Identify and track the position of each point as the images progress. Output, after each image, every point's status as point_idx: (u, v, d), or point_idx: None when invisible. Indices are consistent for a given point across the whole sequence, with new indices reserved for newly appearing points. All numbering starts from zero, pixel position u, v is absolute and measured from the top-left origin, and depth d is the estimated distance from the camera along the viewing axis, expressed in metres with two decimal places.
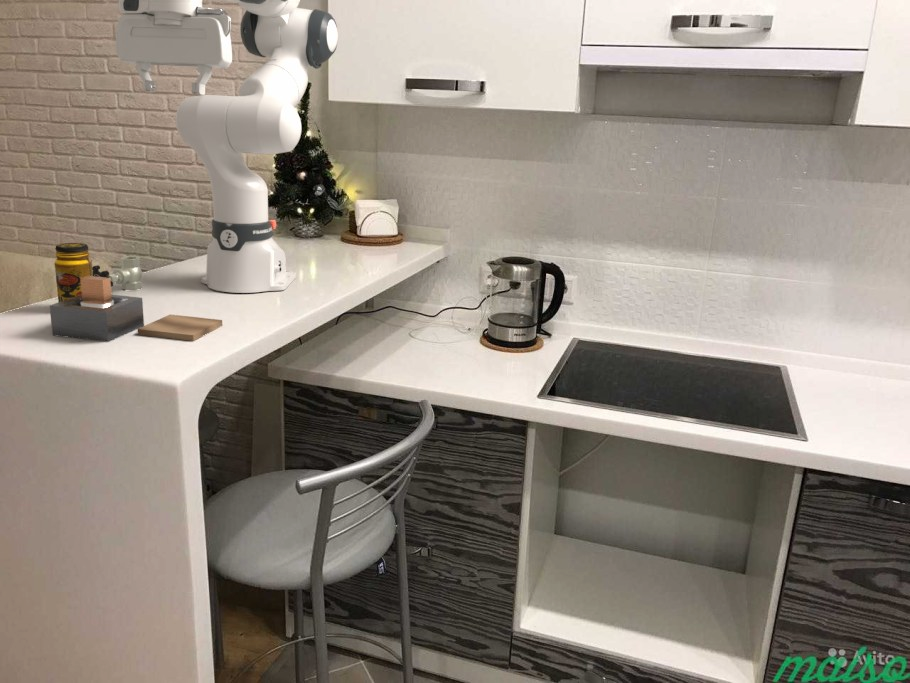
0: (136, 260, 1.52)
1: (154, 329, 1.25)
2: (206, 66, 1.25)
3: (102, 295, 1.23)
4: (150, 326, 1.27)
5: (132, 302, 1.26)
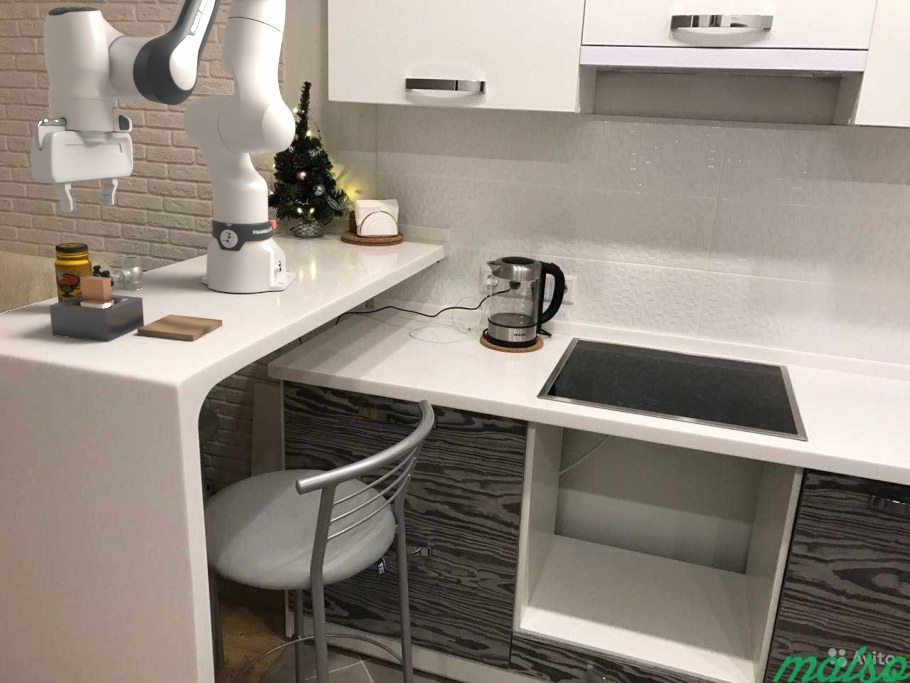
0: (137, 260, 1.53)
1: (154, 329, 1.25)
2: (54, 182, 1.13)
3: (102, 295, 1.23)
4: (150, 326, 1.27)
5: (132, 302, 1.26)
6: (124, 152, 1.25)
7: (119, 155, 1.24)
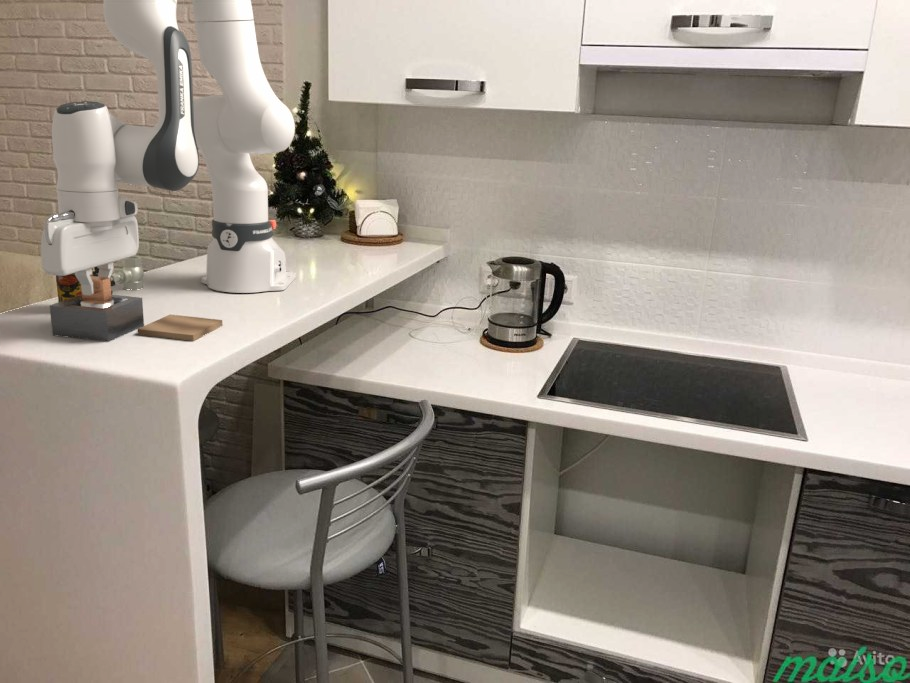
0: (138, 260, 1.53)
1: (154, 329, 1.25)
2: None
3: (102, 295, 1.23)
4: (150, 326, 1.27)
5: (132, 302, 1.26)
6: (130, 234, 1.29)
7: (125, 237, 1.28)
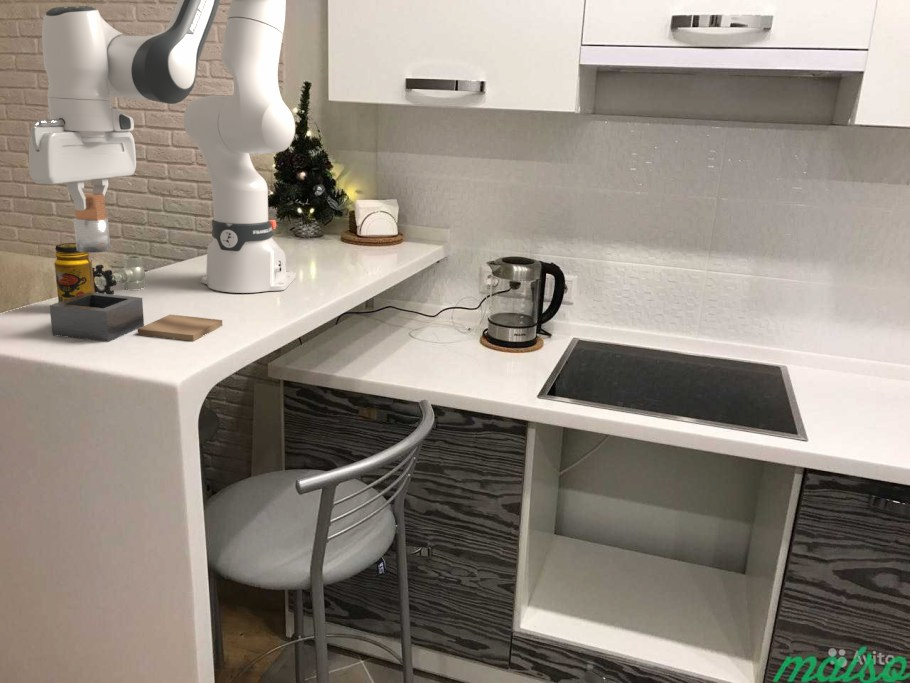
0: (139, 259, 1.53)
1: (154, 329, 1.25)
2: None
3: (95, 211, 1.19)
4: (150, 326, 1.27)
5: (132, 302, 1.26)
6: (127, 151, 1.25)
7: (120, 154, 1.24)
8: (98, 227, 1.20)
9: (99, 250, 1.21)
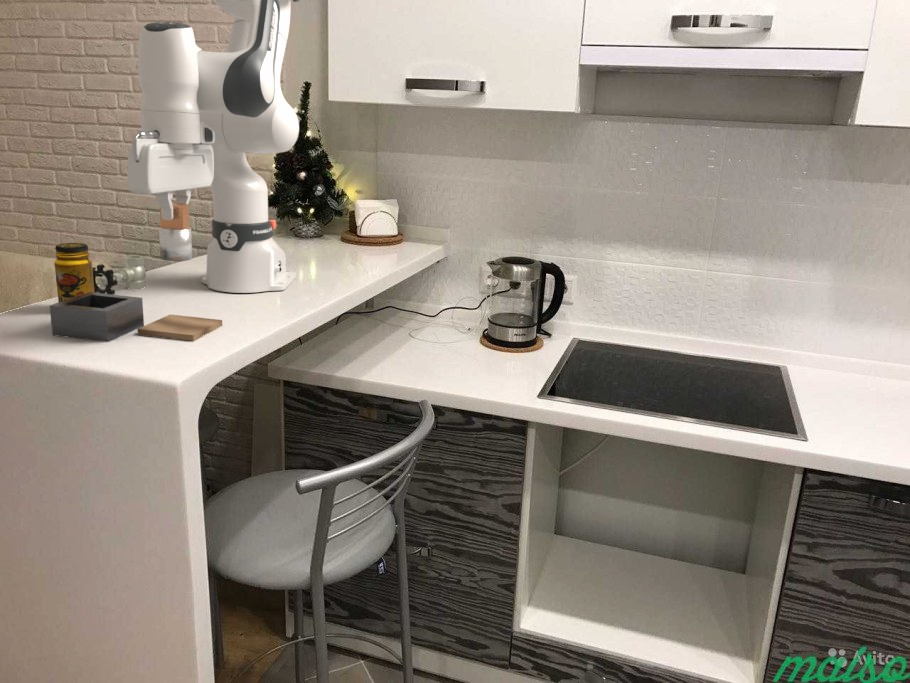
0: (140, 259, 1.53)
1: (154, 329, 1.25)
2: None
3: (182, 220, 1.22)
4: (150, 326, 1.27)
5: (132, 302, 1.26)
6: (207, 163, 1.28)
7: (202, 166, 1.27)
8: (183, 236, 1.23)
9: (184, 259, 1.24)
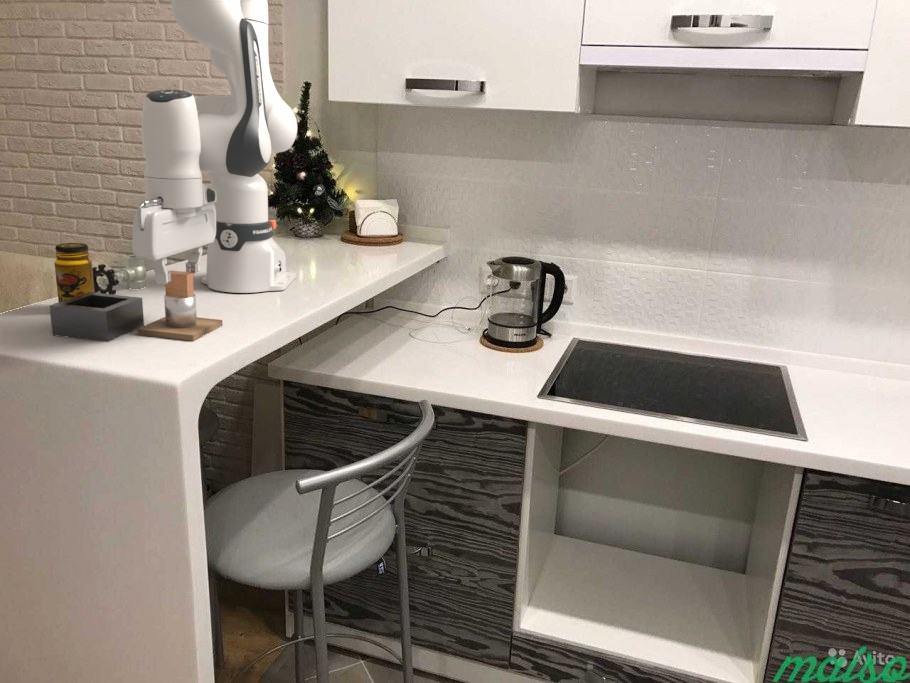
0: None
1: (154, 329, 1.25)
2: None
3: (186, 289, 1.26)
4: (150, 326, 1.27)
5: (132, 302, 1.26)
6: (209, 221, 1.31)
7: (205, 224, 1.30)
8: (188, 304, 1.26)
9: (188, 325, 1.27)
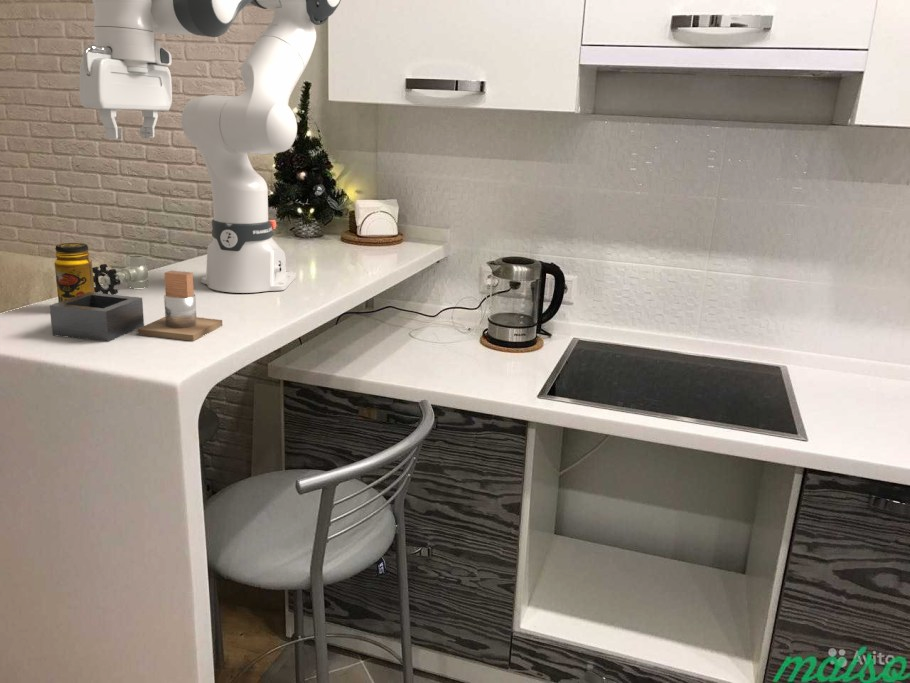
0: (142, 259, 1.54)
1: (154, 329, 1.25)
2: (101, 109, 1.17)
3: (186, 289, 1.26)
4: (150, 326, 1.27)
5: (132, 302, 1.26)
6: (164, 86, 1.29)
7: (159, 88, 1.28)
8: (188, 304, 1.26)
9: (188, 325, 1.27)
